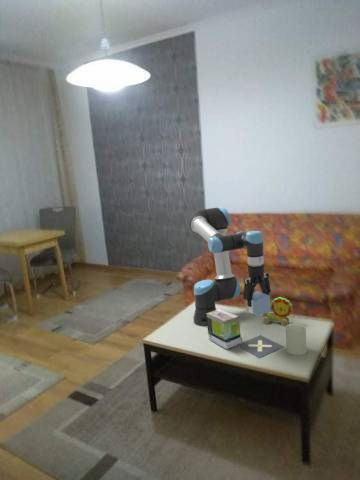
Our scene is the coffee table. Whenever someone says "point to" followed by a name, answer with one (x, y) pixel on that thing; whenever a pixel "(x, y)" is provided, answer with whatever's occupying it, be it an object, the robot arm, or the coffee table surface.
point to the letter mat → (260, 346)
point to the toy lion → (279, 311)
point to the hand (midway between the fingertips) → (258, 310)
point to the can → (296, 339)
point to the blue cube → (260, 303)
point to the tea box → (224, 328)
